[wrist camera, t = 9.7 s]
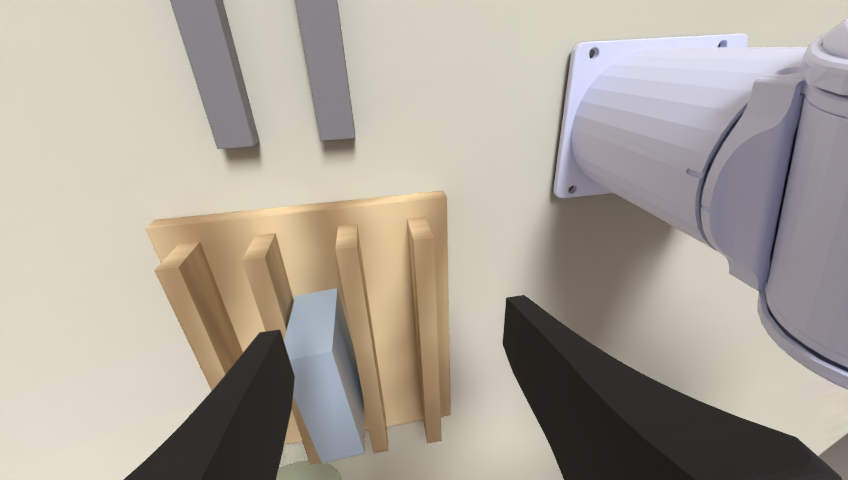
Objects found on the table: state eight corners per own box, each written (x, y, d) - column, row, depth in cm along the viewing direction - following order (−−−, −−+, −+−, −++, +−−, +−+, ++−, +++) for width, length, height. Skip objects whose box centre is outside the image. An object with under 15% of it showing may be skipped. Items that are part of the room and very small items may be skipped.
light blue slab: (337, 288, 21) (331, 351, 16) (363, 382, 25) (364, 453, 20) (295, 295, 21) (278, 361, 16) (328, 389, 24) (321, 463, 20)
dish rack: (442, 191, 20) (457, 216, 17) (447, 404, 29) (458, 446, 26) (155, 220, 18) (114, 254, 15) (251, 438, 27) (237, 487, 24)
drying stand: (322, -108, 14) (320, -118, 13) (355, 133, 18) (354, 137, 17) (147, -108, 13) (132, -119, 12) (224, 143, 17) (217, 148, 16)
